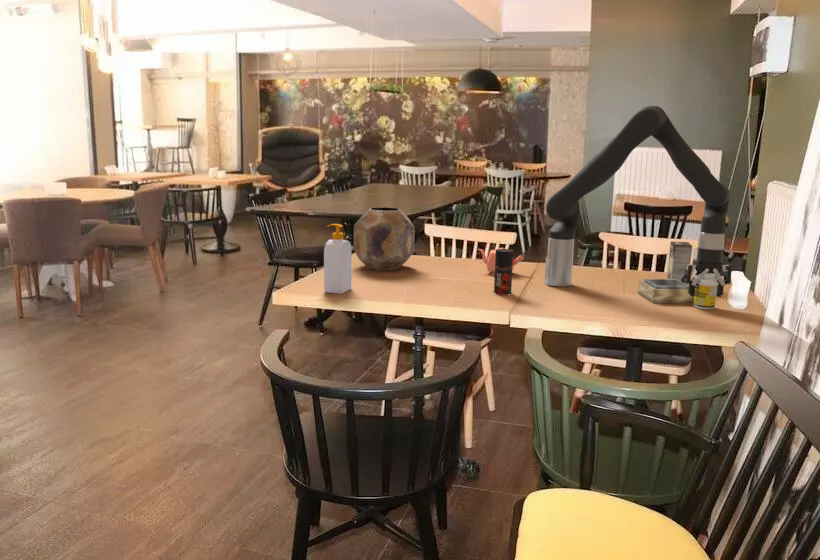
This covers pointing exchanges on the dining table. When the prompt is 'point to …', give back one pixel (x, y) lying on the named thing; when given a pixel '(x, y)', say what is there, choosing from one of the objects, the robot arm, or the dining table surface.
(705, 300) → the pill bottle
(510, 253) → the deodorant
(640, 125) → the robot arm
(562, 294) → the dining table surface
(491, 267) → the teapot
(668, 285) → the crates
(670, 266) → the coffee box
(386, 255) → the planter
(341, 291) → the soap bottle
